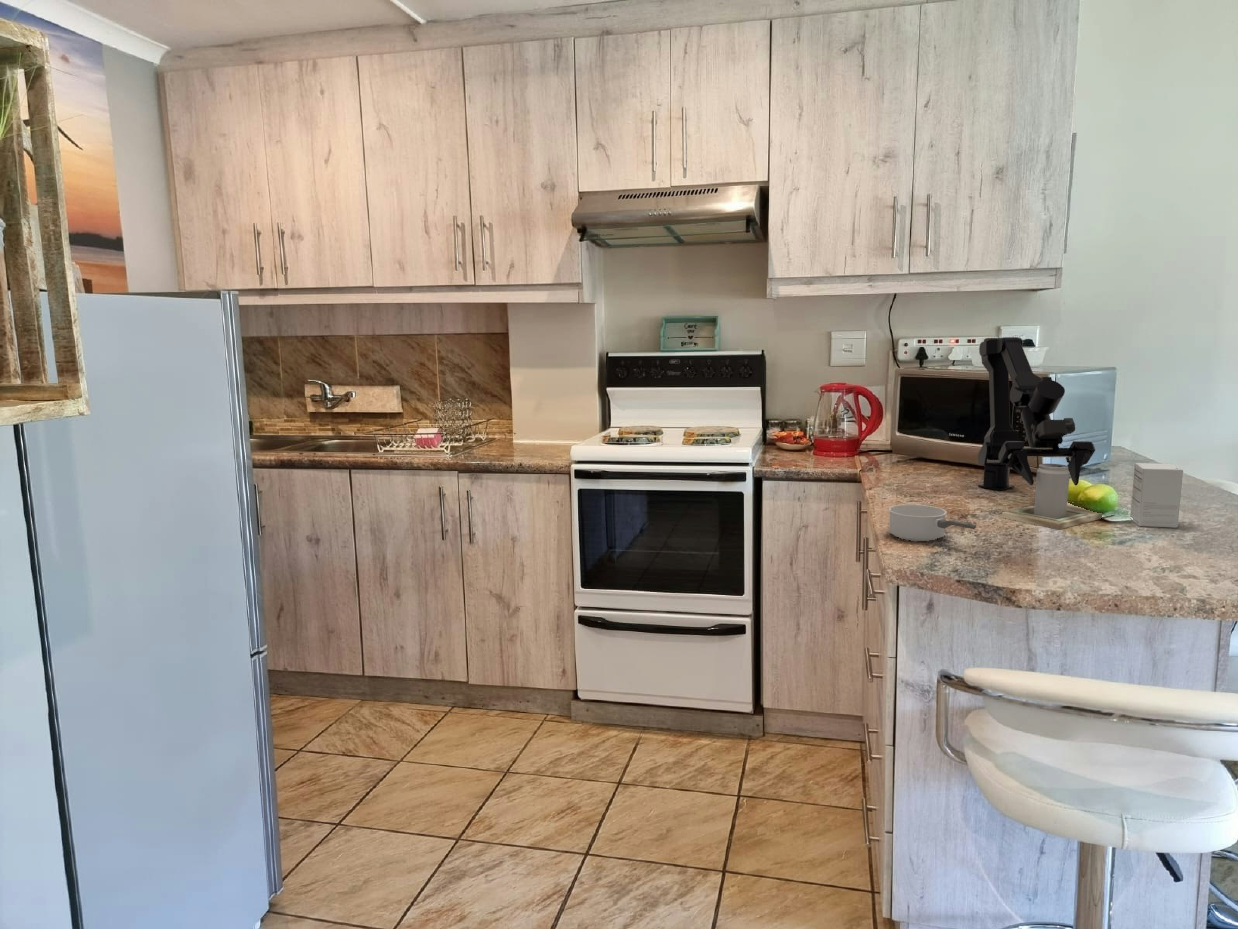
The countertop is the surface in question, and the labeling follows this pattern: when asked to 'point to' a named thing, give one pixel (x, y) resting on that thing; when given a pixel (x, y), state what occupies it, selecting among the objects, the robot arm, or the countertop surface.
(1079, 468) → the robot arm
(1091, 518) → the board
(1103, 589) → the countertop surface
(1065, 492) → the beverage can
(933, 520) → the saucepan
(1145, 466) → the supplement box
